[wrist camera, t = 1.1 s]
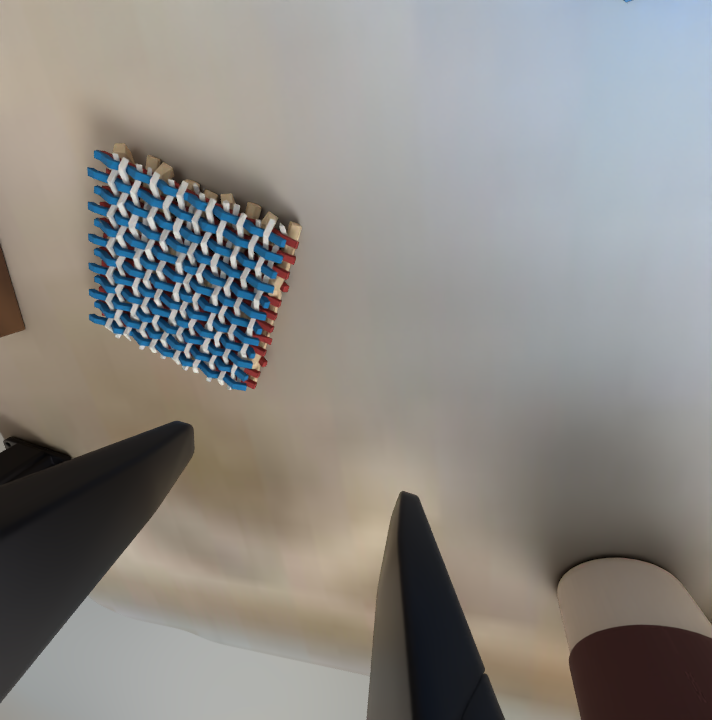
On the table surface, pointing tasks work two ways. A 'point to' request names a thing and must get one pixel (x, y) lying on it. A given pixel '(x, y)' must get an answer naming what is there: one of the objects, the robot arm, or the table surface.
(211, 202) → the woven mat
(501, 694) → the table surface
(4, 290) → the bar
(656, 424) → the table surface
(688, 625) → the coffee cup
